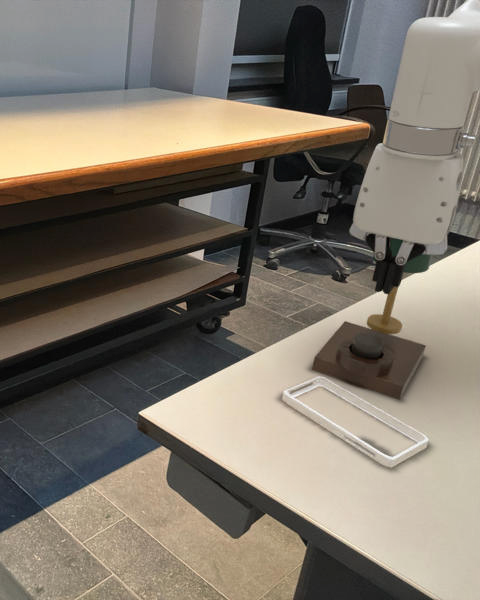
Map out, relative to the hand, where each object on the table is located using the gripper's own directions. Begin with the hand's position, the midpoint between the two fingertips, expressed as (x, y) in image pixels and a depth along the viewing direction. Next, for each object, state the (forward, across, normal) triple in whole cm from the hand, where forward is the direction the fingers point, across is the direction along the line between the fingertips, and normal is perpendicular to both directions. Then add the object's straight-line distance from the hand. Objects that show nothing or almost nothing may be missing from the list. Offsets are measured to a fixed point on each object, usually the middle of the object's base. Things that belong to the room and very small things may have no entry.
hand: (384, 288), depth 82 cm
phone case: (+13, -2, +11) cm, 17 cm away
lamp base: (+13, 0, -4) cm, 13 cm away
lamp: (+9, 0, -8) cm, 12 cm away
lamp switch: (+9, 0, 0) cm, 9 cm away
